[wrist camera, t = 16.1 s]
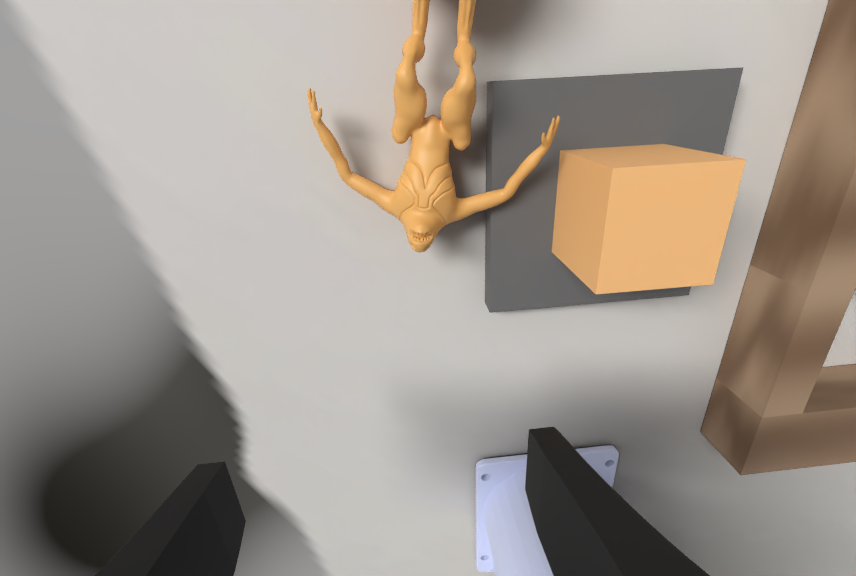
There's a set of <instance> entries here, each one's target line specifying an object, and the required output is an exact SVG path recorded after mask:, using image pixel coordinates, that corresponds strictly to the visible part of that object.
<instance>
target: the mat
mask: <svg viewBox="0 0 856 576" xmlns="http://www.w3.org/2000/svg"><path fill="white" fill-rule="evenodd" d="M742 71H743V68H727V69H708V70H690V71H672V72H653V73H635V74H617V75H598V76H580V77H562V78H544V79H525V80H507V81H491V82H487V131H486V192H489V191H493V190H498V189H503V188H504V187H505V185H506V183H507V181H508V180H509V178H510V177H511V176H512V175H513V174H514V173H515V172H516V170H517V169H518V167H519V166H520V165H521V163H522V162H523V161H524V160H525V159H526V158H527V157H528V156H529V155H530V154H531V153H532V152H533V151H535V150H536V149H537V148H538V147H539V146H540V145H541V144H542V142H541V137H542V133H543V132H544V133H545V137H546V135H547V133H548V130H549V127H550V125H551V122H552V119H553V118H555V121H556V119H557V116H559V117H560V121H559V126H558V129H557V132H556V135H555V137H554V139H553V141H552V144H551V146H550V148H549V149H548V151H547V152H546V153H545V155H544V156H543V157H542V159H541V160H540V162H539V163H538V165H537V166H536V167H535V168H534V170H533V171H532V172H531V173H530V174H529V175H528V176H527V177H526V178H525V179H524V180H523V181H522V182H521V184H520V185H519V187H518V189H517V190H516V192H515V193H514V195H513V196H512V197H511V198H510V199H508V200H507V201H505V202H503V203H501V204H499V205H497V206H494V207H491V208H489V209H486V245H485V303H486V305H487V307H488V310H489V312H502V311H513V310H524V309H536V308H547V307H558V306H569V305H581V304H592V303H603V302H615V301H626V300H637V299H649V298H660V297H671V296H682V295H689V292H690V288H691V286H689V287H677V288H665V289H653V290H642V291H630V292H618V293H606V294H595V293H594V292H593V291H592V290H591V289H590V288H588V287H587V286H586V285H585V284H584V283H583V282H582V281H581V280H580V279H579V278H578V277H577V276H576V275H575V274H574V273H573V272H572V271H571V270H570V269H569V268H568V267H567V266H566V265H565V264H564V263H563V262H562V261H561V260H559V259H558V258H557V257H556V256H555V255H554V254H553V253H552V243H553V231H554V219H555V207H556V195H557V183H558V171H559V159H560V150H576V149H592V148H607V147H623V146H639V145H655V144H667V145H672V146H678V147H683V148H688V149H694V150H699V151H704V152H710V153H715V154H720V155H722V154H723V150H724V146H725V142H726V137H727V133H728V129H729V125H730V121H731V117H732V112H733V108H734V104H735V100H736V96H737V91H738V87H739V83H740V79H741V75H742ZM554 123H555V122H554Z"/></svg>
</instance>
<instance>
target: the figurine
mask: <svg viewBox="0 0 856 576" xmlns="http://www.w3.org/2000/svg"><path fill="white" fill-rule="evenodd" d="M429 1H430V0H413V24H412V36H411V37H409V38H408V39H407V40H406V41H405V43H404V45H403V49H402V53H403V59H402V62H401V64H400V65H399V67H398V69H397V73H396V80H395V85H394V101H395V118H394V123H393V127H392V136H393V139H394V140H395V141H396V142H397V143H399V144H402V143H405V142H406V141H407V140H408V138H409V136H411V138H412V145H411V150H410V157H409V158H408V160H407V162H406V164H405V166H404V170H403V172H402V174H401V176H400V178H399V180H398V183H397V186H396V190H393V191H392V190H387V189H385V188H383V187H381V186H379V185H377V184H376V183H374V182H372V181H370V180H368V179H366V178H364V177H362V176H360V175H358V174H355V173H353V172H351V171H350V168H349V165H348V162H347V160H346V158H345V157H344V155H343V153H342V151H341V149H340V146H339V144H338V143H337V141H336V139H335V138H334V136H333V134H332V133H331V132H330V130H329V129H328V128H327V127H326V126H325V124H324V123H323V122H322V120H321V117H322V108H321V107H320V108H319V112H318V109H317V102H316V98H315V92H314V91H313V92H312V93H311V88H309V89H308V101H309V108H310V112H311V117H312V121H313V123H314V126H315V128H316V130H317V132H318V134H319V136H320V139H321V141H322V143H323V145H324V146H325V148H326V149H327V151H328V152H329V154H330V156H331V157H332V159H333V160H334V162H335V165H336V168H337V170H338V173H339V175H340V177H341V178H342V180H343V181H344V182H345V183H346V184H347V185H348V186H350V187H351V188H352V189H354V190H355V191H357V192H358V193H360V194H361V195H363V196H365V197H367V198H369V199H371V200H372V201H374V202H375V203H376V204H378V205H379V206H380V207H381V208H382V209H383V210H385V211H386V212H388V213H390V214H392V215H394V216H395V217H397V218H398V219H399V220H400V221H401V223H402V224H403V225H404V227H405V230H406V233H407V237H408V240H409V243H410V245H411V247H412V249H413V250H415V251H416V252H424V251H426V250H427V249H428V248H429V247H430V245H431V244H432V242H433V240H434V239H435V237H436V235H437V234H438V232H439V231H440V230H441V229H442V228H443V227H444V226H446V225H447V224H449V223H451V222H455V221H458V220H461V219H464V218H466V217H468V216H470V215H471V214H473V213H476V212H479V211H482V210H486V209H489V208H491V207H494V206H497V205H499V204H501V203H503V202H505V201H507V200H508V199H510V198H511V197H512V196H513V195H514V193H515V192H516V190H517V189H518V187H519V185H520V184H521V182H522V181H523V180H524V179H525V178H526V177H527V176H528V175H529V174H530V173H531V172H532V171H533V170H534V168H535V167H536V166H537V165H538V163H539V162H540V160H541V159H542V157H543V156H544V155H545V153H546V152H547V151H548V149H549V148H550V146H551V144H552V141H553V139H554V137H555V135H556V132H557V129H558V126H559V121H560V117H559V116H557V119H556V121H555V118H553V119H552V122H551V125H550V127H549V130H548V133H547V135H546V137H545V133H544V132H543V133H542V137H541V142H542V144H541V145H540V146H539V147H538V148H537V149H536V150H535V151H533V152H532V153H531V154H530V155H529V156H528V157H527V158H526V159H525V160H524V161H523V162H522V163H521V165H520V166H519V167H518V169H517V170H516V172H515V173H514V174H513V175H512V176H511V177H510V178H509V180H508V181H507V183H506V185H505V187H504V188H503V189H498V190H493V191H489V192H485V193H482V194H478V195H474V196H471V197H467V198H458V197H456V193H455V185H454V182H453V178H452V175H451V174H452V170H451V166H450V162H449V161H448V160H449V145H450V142H451V140H452V141H453V144H454V146H455V148H456V149H458V150H464V149H466V148H467V147H468V146H469V144H470V142H471V116H472V113H473V110H474V106H475V102H476V78H475V74H474V71H473V64H474V62H475V59H476V51H475V49H474V47H473V45H472V44H471V43H470V37H471V31H472V25H473V19H474V12H475V5H476V0H459V12H458V23H457V42H458V44H457V47H456V48H455V50H454V60H455V63H456V64H457V66H458V67H459V68H460V69H459V74H458V77H457V79H456V82H455V84H454V86H453V87H452V88H451V89H449V90H448V91H447V92H446V93H445V95H444V98H443V100H442V104H441V120H440V119H439V118H437V117H436V116H434V115H431V116H429V117H427V118H424V116H425V113H426V107H427V99H426V93H425V90H424V88H423V87H422V86H421V85H420V84H419V83H418V80H417V77H416V71H415V63H417V62H419V61H420V60H421V59H422V57H423V56H424V52H425V45H424V37H425V32H426V27H427V21H428V9H429ZM554 122H555V123H554Z"/></svg>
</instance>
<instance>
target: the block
mask: <svg viewBox="0 0 856 576" xmlns="http://www.w3.org/2000/svg"><path fill="white" fill-rule="evenodd" d="M745 162H746V159H742V158H736V157H731V156H726V155H720V154H715V153H710V152H704V151H699V150H694V149H688V148H683V147H678V146H672V145H667V144H655V145H639V146H623V147H607V148H592V149H576V150H560V159H559V171H558V183H557V195H556V207H555V219H554V231H553V243H552V253H553V254H554V255H555V256H556V257H557V258H558V259H559V260H561V261H562V262H563V263H564V264H565V265H566V266H567V267H568V268H569V269H570V270H571V271H572V272H573V273H574V274H575V275H576V276H577V277H578V278H579V279H580V280H581V281H582V282H583V283H584V284H585V285H586V286H587V287H588V288H590V289H591V290H592V291H593V292H594V293H595V294H606V293H618V292H630V291H642V290H653V289H665V288H677V287H689V286H700V285H712V284H713V283H714V279H715V275H716V271H717V268H718V264H719V260H720V256H721V253H722V249H723V245H724V241H725V238H726V234H727V230H728V226H729V223H730V219H731V215H732V211H733V208H734V204H735V200H736V196H737V192H738V189H739V185H740V181H741V177H742V174H743V170H744V166H745Z"/></svg>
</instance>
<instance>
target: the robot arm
mask: <svg viewBox="0 0 856 576" xmlns="http://www.w3.org/2000/svg"><path fill="white" fill-rule="evenodd" d="M618 458H619V452H618V451H617V449H616V448H615V447H614V446H612V445H607V446H598V447H589V448H579V449H574V448H573V447H572V445H571V444H570V443H569V442H568V441H567V440H566V439H565V438H564V437H563V436H562V434H561V433H560V432H559V431H558V430H557V429H556V428H554V427H547V428H538V429H529V437H528V452H527V454H525V455H516V456H507V457H498V458H488V459H482V460H480V461H478V463H477V464H476V567H477V570H478V571H480V572H490V571H494V576H710V575H708V574H707V573H706V572H705V571H703V570H702V569H701V568H700V567H699V566H697V565H696V564H695V563H694V562H692V561H691V560H690V559H689V558H688V557H687V556H685V555H684V554H683V553H682V552H681V551H679V550H678V549H677V548H676V547H675V546H674V545H673V544H671V543H670V542H669V541H668V540H667V539H666V538H665V537H664V536H662V535H661V534H660V533H659V532H658V531H657V530H656V529H655V528H654V527H652V526H651V525H650V524H649V523H648V522H647V521H646V520H645V519H644V518H643V517H642V516H641V515H639V514H638V513H637V512H636V511H635V510H634V509H633V508H632V507H631V506H630V505H629V504H628V503H627V502H626V501H625V500H624V499H623V498H622V497H621V496H620V495H619V494H618V493H617V492H616V491H615V490H614V489H613V483H614V478H615V473H616V468H617V463H618ZM484 474H485V475H484ZM244 526H245V518H244V515H243V512H242V509H241V506H240V504H239V501H238V498H237V495H236V492H235V489H234V487H233V484H232V481H231V478H230V475H229V473H228V470H227V467H226V464H225V462H218V463H209V464H199V465H197V466H196V467H195V468H194V469H193V471H192V472H191V473H190V474H189V475H188V476H187V477H186V478H185V479H184V480H183V481H182V482H181V484H180V485H179V486H178V487H177V488H176V489H175V490H174V491H173V493H172V494H171V495H170V496H169V497H168V498H167V499H166V500H165V501H164V502H163V503H162V505H161V506H160V507H159V508H158V509H157V510H156V511H155V512H154V513H153V514H152V516H151V517H150V518H149V519H148V520H147V521H146V522H145V523H144V524H143V525H142V527H141V528H140V529H139V530H138V531H137V532H136V533H135V534H134V535H133V536H132V537H131V539H129V541H128V542H127V543H126V544H125V545H124V546H123V547H122V548H121V549H120V550H119V552H117V553H116V555H115V556H114V557H113V558H112V559H111V560H110V561H109V562H108V563H107V564H106V565H105V566H104V567H103V568H102V569H101V570H100V571H99V572H98V573H97V574H96V575H95V576H233V575H234V572H235V568H236V563H237V559H238V555H239V551H240V546H241V541H242V536H243V531H244Z"/></svg>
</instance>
